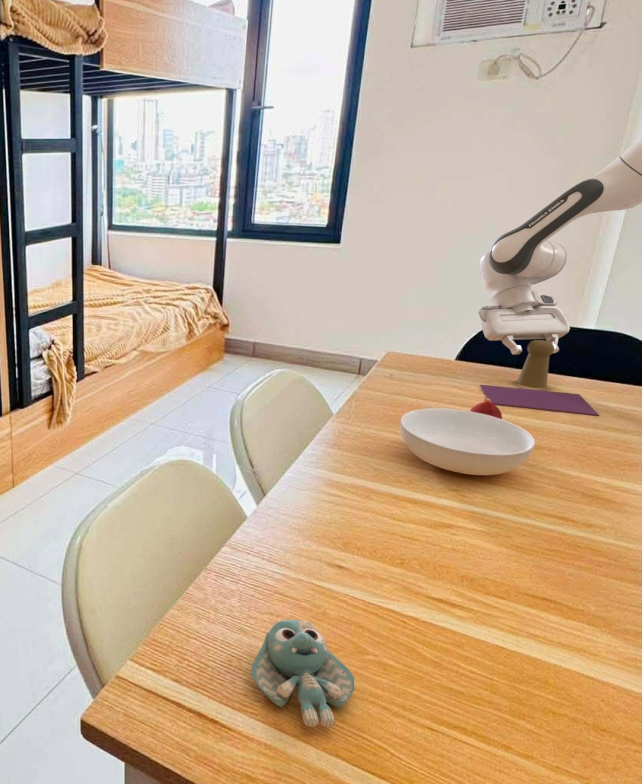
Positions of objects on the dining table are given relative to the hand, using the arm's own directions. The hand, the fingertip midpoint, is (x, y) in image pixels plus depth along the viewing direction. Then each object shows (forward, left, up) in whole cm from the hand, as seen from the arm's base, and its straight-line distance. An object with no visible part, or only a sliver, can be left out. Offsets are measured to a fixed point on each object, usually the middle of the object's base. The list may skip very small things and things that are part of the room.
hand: (536, 352), depth 155 cm
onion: (+16, +42, -8) cm, 46 cm away
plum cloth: (+1, +14, -8) cm, 16 cm away
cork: (-1, +1, -8) cm, 8 cm away
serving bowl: (+22, +58, -8) cm, 62 cm away
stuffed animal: (+45, +126, -8) cm, 134 cm away
